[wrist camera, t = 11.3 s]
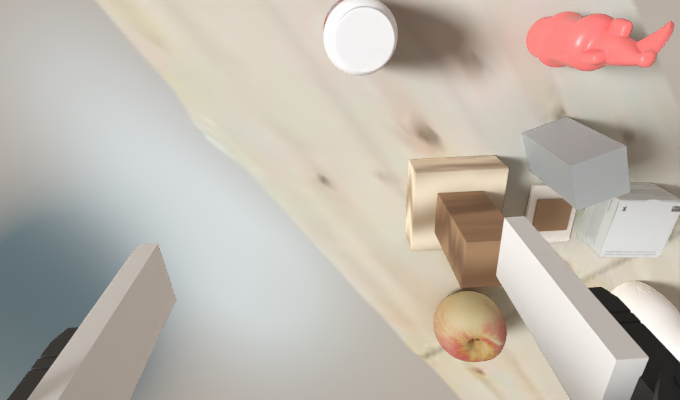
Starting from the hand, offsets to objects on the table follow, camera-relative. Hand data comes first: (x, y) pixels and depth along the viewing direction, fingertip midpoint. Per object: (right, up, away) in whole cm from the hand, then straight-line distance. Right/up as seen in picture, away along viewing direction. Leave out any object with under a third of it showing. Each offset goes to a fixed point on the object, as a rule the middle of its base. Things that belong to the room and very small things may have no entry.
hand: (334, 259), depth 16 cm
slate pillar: (+24, +9, +31) cm, 40 cm away
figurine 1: (+21, +19, +26) cm, 38 cm away
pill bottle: (+2, +19, +25) cm, 32 cm away
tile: (+26, +1, +35) cm, 44 cm away
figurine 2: (+41, -12, +42) cm, 60 cm away
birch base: (+13, +3, +33) cm, 36 cm away
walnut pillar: (+13, +1, +30) cm, 33 cm away
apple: (+17, -12, +41) cm, 46 cm away
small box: (+35, +1, +36) cm, 50 cm away
